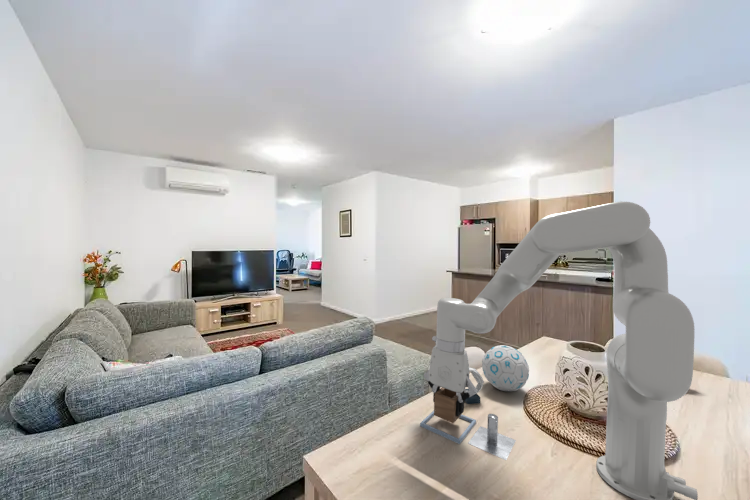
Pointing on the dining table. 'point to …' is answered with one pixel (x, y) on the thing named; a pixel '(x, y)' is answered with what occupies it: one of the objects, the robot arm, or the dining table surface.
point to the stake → (492, 439)
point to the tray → (424, 425)
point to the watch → (479, 379)
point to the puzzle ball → (505, 368)
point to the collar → (445, 405)
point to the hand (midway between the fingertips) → (448, 409)
